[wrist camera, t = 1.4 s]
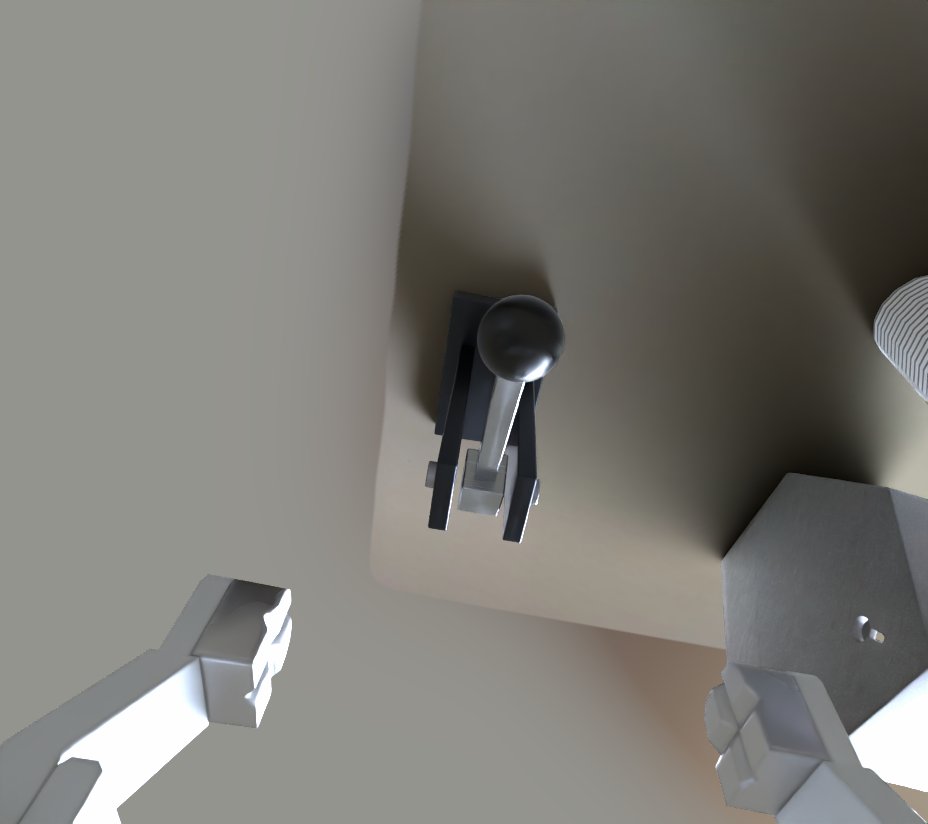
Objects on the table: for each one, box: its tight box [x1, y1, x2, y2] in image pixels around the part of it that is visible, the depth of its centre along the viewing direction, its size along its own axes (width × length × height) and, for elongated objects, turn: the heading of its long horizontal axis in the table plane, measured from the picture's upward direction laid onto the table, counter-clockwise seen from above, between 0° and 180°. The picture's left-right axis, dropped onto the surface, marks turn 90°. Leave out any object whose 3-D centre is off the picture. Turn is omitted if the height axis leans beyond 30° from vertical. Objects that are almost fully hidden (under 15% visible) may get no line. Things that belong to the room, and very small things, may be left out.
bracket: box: [425, 291, 558, 543], centre depth 37 cm, size 11×7×15 cm, turn 172°
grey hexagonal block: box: [721, 473, 928, 792], centre depth 41 cm, size 17×8×21 cm
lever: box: [458, 295, 565, 516], centre depth 27 cm, size 15×3×3 cm, turn 172°
